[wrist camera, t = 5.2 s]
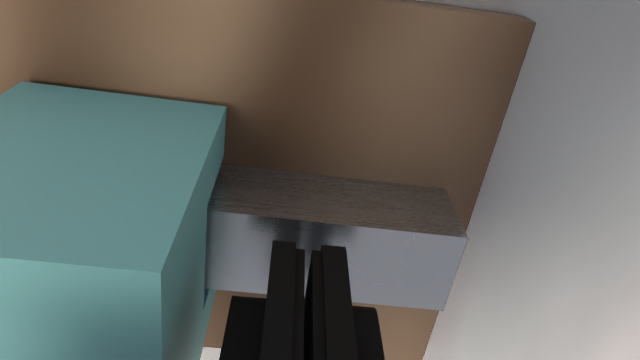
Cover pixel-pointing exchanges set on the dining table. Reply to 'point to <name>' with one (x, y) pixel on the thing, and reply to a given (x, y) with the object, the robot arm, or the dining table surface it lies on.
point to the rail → (334, 233)
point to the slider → (104, 224)
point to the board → (299, 90)
